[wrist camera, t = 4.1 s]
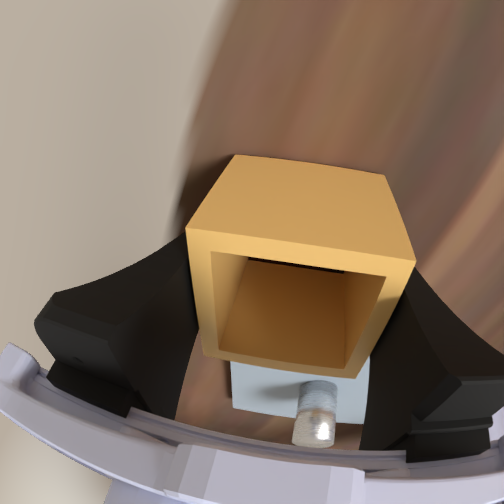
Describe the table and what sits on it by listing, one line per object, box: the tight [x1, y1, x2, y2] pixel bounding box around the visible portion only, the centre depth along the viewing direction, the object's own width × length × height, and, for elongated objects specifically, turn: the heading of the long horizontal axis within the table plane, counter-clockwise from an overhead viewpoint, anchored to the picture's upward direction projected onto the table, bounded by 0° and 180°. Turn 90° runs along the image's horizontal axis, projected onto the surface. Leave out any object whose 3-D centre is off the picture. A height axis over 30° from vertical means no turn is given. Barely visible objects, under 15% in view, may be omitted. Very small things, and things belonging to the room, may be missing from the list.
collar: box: [185, 155, 416, 379], centre depth 11 cm, size 6×6×5 cm
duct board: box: [230, 355, 370, 448], centre depth 18 cm, size 12×12×5 cm
